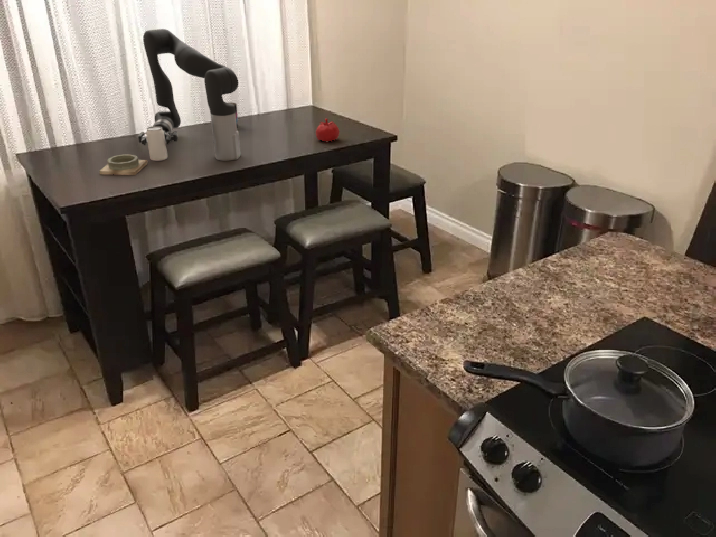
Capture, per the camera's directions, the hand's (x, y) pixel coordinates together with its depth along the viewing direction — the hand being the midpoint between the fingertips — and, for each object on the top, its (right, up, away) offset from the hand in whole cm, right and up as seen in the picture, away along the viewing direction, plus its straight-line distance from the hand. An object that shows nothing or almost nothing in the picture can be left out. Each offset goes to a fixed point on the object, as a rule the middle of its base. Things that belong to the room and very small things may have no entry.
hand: (155, 142), depth 231 cm
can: (0, -5, +5) cm, 7 cm away
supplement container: (+20, +16, +44) cm, 51 cm away
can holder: (-10, -11, -5) cm, 15 cm away
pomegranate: (+64, +6, +27) cm, 70 cm away
